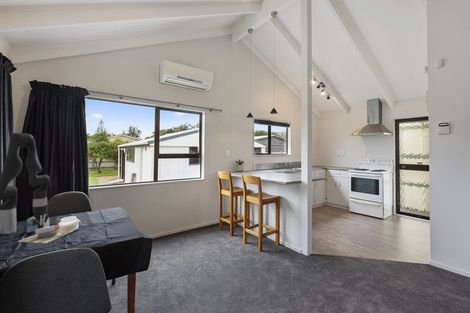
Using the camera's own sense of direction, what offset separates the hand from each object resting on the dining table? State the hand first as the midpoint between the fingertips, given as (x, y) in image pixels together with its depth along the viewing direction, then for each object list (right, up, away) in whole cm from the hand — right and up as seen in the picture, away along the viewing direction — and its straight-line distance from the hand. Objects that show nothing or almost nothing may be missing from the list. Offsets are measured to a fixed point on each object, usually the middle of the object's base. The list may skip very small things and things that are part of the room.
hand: (40, 230), depth 151 cm
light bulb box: (-11, -6, +11) cm, 17 cm away
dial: (+4, -4, +1) cm, 6 cm away
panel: (+4, -6, +1) cm, 7 cm away
